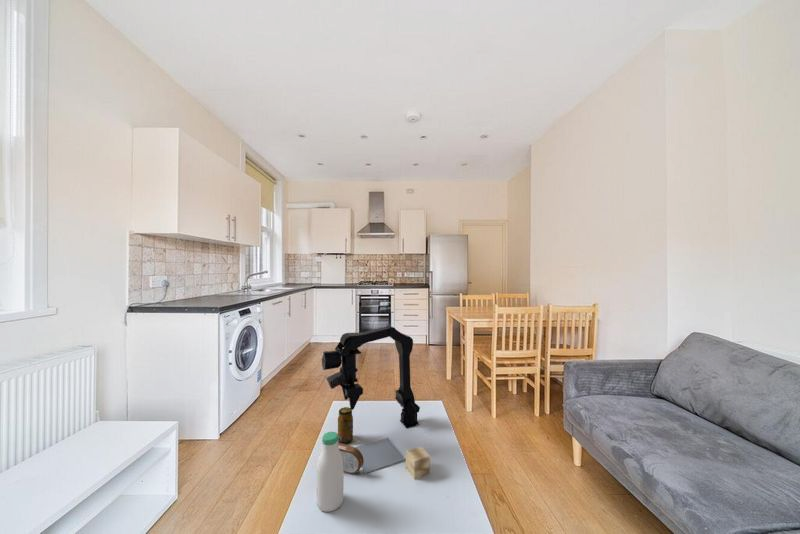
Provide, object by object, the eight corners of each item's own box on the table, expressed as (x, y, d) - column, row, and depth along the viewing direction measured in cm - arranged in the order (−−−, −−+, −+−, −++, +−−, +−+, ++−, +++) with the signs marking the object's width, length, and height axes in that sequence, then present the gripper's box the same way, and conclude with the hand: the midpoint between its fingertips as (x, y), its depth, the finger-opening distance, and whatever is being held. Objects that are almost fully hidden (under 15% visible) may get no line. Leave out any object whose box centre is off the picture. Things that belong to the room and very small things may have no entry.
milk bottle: (348, 501, 88) (348, 435, 88) (326, 517, 83) (326, 446, 83) (333, 488, 94) (333, 425, 93) (311, 502, 88) (311, 435, 88)
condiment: (348, 432, 125) (348, 404, 125) (359, 441, 118) (359, 412, 118) (332, 439, 120) (332, 409, 120) (343, 449, 114) (343, 418, 113)
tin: (364, 471, 101) (364, 447, 101) (359, 478, 98) (359, 453, 98) (326, 462, 106) (325, 438, 106) (320, 467, 103) (320, 443, 103)
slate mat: (387, 438, 120) (387, 437, 120) (405, 460, 107) (405, 459, 107) (352, 448, 114) (352, 447, 114) (365, 473, 100) (365, 472, 100)
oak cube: (420, 463, 106) (420, 446, 106) (429, 473, 100) (429, 456, 100) (405, 468, 103) (405, 451, 103) (414, 479, 98) (414, 461, 98)
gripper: (324, 361, 124) (324, 398, 124) (333, 377, 107) (334, 420, 107) (350, 357, 128) (350, 393, 129) (363, 372, 112) (363, 413, 112)
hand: (349, 404), depth 119 cm, fingers open, 9 cm apart
